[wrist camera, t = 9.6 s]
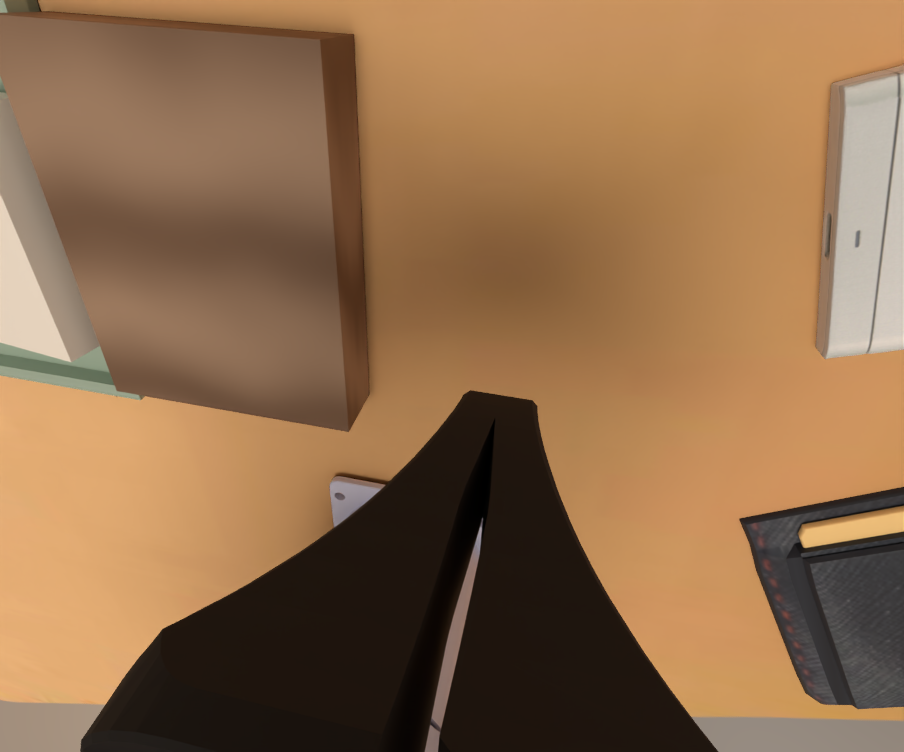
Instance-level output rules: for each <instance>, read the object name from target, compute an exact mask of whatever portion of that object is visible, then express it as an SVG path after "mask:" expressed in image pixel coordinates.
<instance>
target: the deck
mask: <svg viewBox="0 0 904 752" xmlns="http://www.w3.org/2000/svg"><path fill="white" fill-rule="evenodd" d="M0 77H1V79H2V82H3V85H4V88H5V90H6V93H7V96H8V98H9V101H10V104H11V106H12V109H13V112H14V115H15V117H16V120H17V123H18V125H19V128H20V131H21V134H22V136H23V139H24V142H25V144H26V147H27V150H28V152H29V155H30V158H31V161H32V163H33V166H34V169H35V171H36V174H37V177H38V180H39V182H40V185H41V188H42V190H43V193H44V196H45V199H46V201H47V204H48V207H49V209H50V212H51V215H52V217H53V220H54V223H55V226H56V228H57V231H58V234H59V236H60V239H61V242H62V245H63V247H64V250H65V253H66V255H67V258H68V261H69V264H70V266H71V269H72V272H73V274H74V277H75V280H76V282H77V285H78V288H79V291H80V293H81V296H82V299H83V301H84V304H85V307H86V310H87V312H88V315H89V318H90V320H91V323H92V326H93V328H94V331H95V334H96V337H97V339H98V342H99V345H100V347H101V350H102V353H103V356H104V358H105V361H106V364H107V366H108V369H109V372H110V375H111V377H112V380H113V383H114V385H115V388H116V391H119V392H125V393H131V394H136V395H142V396H148V397H153V398H159V399H165V400H170V401H176V402H182V403H187V404H193V405H199V406H205V407H210V408H216V409H222V410H227V411H233V412H239V413H244V414H250V415H256V416H262V417H267V418H273V419H279V420H284V421H290V422H296V423H301V424H307V425H313V426H318V427H324V428H330V429H336V430H341V431H347V432H349V430H350V429H351V427H352V425H353V423H354V421H355V420H356V418H357V416H358V414H359V412H360V410H361V409H362V407H363V405H364V403H365V401H366V399H367V398H368V396H369V376H368V352H367V329H366V306H365V283H364V260H363V237H362V213H361V190H360V167H359V144H358V121H357V98H356V75H355V51H354V34H341V33H328V32H314V31H301V30H288V29H274V28H261V27H248V26H234V25H221V24H208V23H195V22H181V21H168V20H155V19H141V18H128V17H115V16H102V15H88V14H75V13H62V12H7V13H0Z"/></svg>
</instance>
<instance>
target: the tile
mask: <svg viewBox="0 0 904 752" xmlns="http://www.w3.org/2000/svg"><path fill="white" fill-rule="evenodd" d="M0 343H4V344H7V345H11V346H15V347H18V348H22V349H25V350H29V351H33V352H36V353H40V354H43V355H47V356H51V357H54V358H58V359H61V360H65V361H68V362H73V361H75V360H76V359H78V358H80V357H81V356H83V355H85V354H87V353H88V352H90V351H92V350H94V349H95V348H97V347H99V346H100V345H99V342H98V339H97V337H96V334H95V331H94V328H93V326H92V323H91V320H90V318H89V315H88V312H87V310H86V307H85V304H84V301H83V299H82V296H81V293H80V291H79V288H78V285H77V282H76V280H75V277H74V274H73V272H72V269H71V266H70V264H69V261H68V258H67V255H66V253H65V250H64V247H63V245H62V242H61V239H60V236H59V234H58V231H57V228H56V226H55V223H54V220H53V217H52V215H51V212H50V209H49V207H48V204H47V201H46V199H45V196H44V193H43V190H42V188H41V185H40V182H39V180H38V177H37V174H36V171H35V169H34V166H33V163H32V161H31V158H30V155H29V152H28V150H27V147H26V144H25V142H24V139H23V136H22V134H21V131H20V128H19V125H18V123H17V120H16V117H15V115H14V112H13V109H12V106H11V104H10V101H9V98H8V96H7V93H3V92H0Z"/></svg>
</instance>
